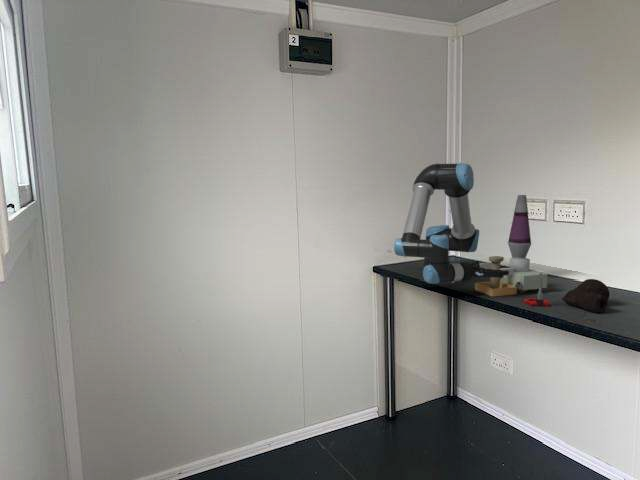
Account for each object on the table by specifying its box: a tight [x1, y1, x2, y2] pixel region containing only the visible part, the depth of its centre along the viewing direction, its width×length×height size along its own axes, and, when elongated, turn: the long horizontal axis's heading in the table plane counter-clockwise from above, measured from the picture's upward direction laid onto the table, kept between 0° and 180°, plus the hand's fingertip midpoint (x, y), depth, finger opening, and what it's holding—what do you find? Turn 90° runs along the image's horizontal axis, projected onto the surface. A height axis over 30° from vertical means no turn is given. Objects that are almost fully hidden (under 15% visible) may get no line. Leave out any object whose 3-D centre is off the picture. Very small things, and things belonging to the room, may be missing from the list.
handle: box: [488, 255, 505, 289], centre depth 198 cm, size 5×6×15 cm
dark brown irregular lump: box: [561, 278, 610, 313], centre depth 175 cm, size 10×15×15 cm
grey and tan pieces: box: [474, 257, 549, 297], centre depth 200 cm, size 16×26×13 cm, turn 107°
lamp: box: [507, 194, 532, 258], centre depth 217 cm, size 11×11×40 cm
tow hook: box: [524, 272, 550, 307], centre depth 181 cm, size 8×13×9 cm
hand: (502, 268), depth 198 cm, fingers open, 13 cm apart
